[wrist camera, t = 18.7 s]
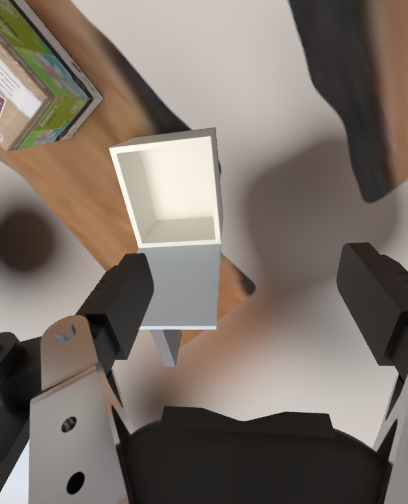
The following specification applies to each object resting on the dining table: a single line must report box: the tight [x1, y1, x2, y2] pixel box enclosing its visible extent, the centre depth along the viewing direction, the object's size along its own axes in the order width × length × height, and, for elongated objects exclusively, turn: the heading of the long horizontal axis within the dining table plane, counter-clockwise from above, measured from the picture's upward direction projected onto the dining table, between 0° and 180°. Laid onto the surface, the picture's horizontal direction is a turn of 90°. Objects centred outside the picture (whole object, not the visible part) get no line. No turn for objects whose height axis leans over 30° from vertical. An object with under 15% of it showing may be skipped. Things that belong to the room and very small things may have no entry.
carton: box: [109, 128, 223, 248], centre depth 41 cm, size 16×14×10 cm
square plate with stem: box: [137, 244, 221, 367], centre depth 37 cm, size 16×14×9 cm
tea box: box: [0, 0, 103, 151], centre depth 32 cm, size 15×10×15 cm
